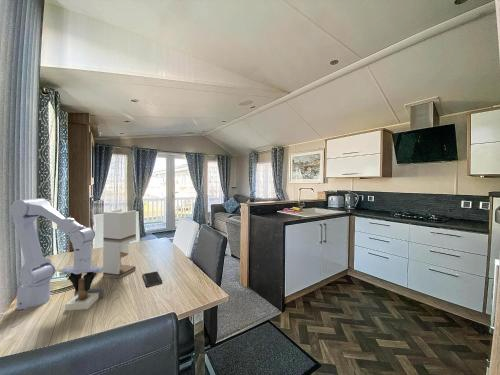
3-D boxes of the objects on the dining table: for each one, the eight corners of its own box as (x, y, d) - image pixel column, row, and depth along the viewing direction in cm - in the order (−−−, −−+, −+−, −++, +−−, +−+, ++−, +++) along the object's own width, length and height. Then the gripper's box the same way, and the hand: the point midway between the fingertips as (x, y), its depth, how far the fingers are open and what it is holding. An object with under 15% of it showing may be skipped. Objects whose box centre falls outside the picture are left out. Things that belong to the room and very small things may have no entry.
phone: (146, 285, 105) (142, 274, 117) (146, 288, 105) (142, 276, 117) (163, 281, 109) (157, 271, 121) (163, 284, 109) (157, 273, 122)
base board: (45, 326, 76) (45, 313, 76) (76, 299, 93) (76, 289, 92) (80, 323, 78) (80, 311, 77) (104, 298, 94) (104, 288, 94)
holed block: (65, 310, 83) (65, 304, 83) (78, 299, 91) (78, 293, 91) (87, 309, 85) (87, 303, 85) (98, 298, 93) (98, 292, 93)
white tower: (119, 278, 113) (120, 213, 112) (103, 276, 115) (103, 212, 114) (135, 269, 124) (136, 210, 123) (120, 267, 126) (120, 209, 125)
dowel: (80, 296, 89) (80, 277, 89) (88, 295, 90) (88, 277, 89) (76, 300, 86) (76, 281, 86) (84, 299, 87) (84, 280, 86)
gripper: (55, 262, 82) (55, 296, 83) (96, 260, 85) (96, 294, 85) (68, 255, 89) (68, 287, 90) (105, 254, 92) (105, 285, 92)
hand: (82, 290), depth 88 cm, fingers closed on dowel, 3 cm apart
